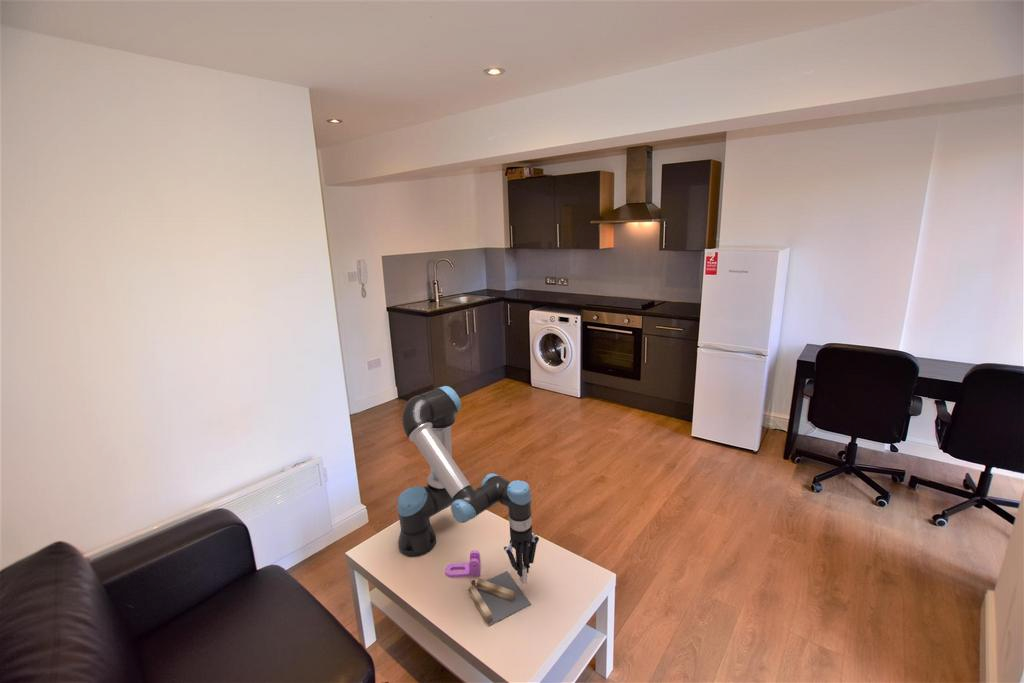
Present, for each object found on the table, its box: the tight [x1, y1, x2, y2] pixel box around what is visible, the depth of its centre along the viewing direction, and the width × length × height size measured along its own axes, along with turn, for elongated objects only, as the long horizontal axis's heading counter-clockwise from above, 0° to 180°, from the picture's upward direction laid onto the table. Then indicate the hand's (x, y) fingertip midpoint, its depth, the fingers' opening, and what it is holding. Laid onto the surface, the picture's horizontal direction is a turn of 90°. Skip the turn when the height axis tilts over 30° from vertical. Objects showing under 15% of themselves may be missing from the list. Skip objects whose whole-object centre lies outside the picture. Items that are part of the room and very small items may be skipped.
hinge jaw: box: [476, 578, 515, 601], centre depth 160 cm, size 14×2×2 cm, turn 64°
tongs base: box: [468, 579, 492, 623], centre depth 155 cm, size 16×3×3 cm, turn 29°
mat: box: [467, 570, 532, 627], centre depth 159 cm, size 17×16×1 cm
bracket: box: [444, 549, 482, 579], centre depth 170 cm, size 13×6×7 cm, turn 91°
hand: (523, 581), depth 160 cm, fingers closed
